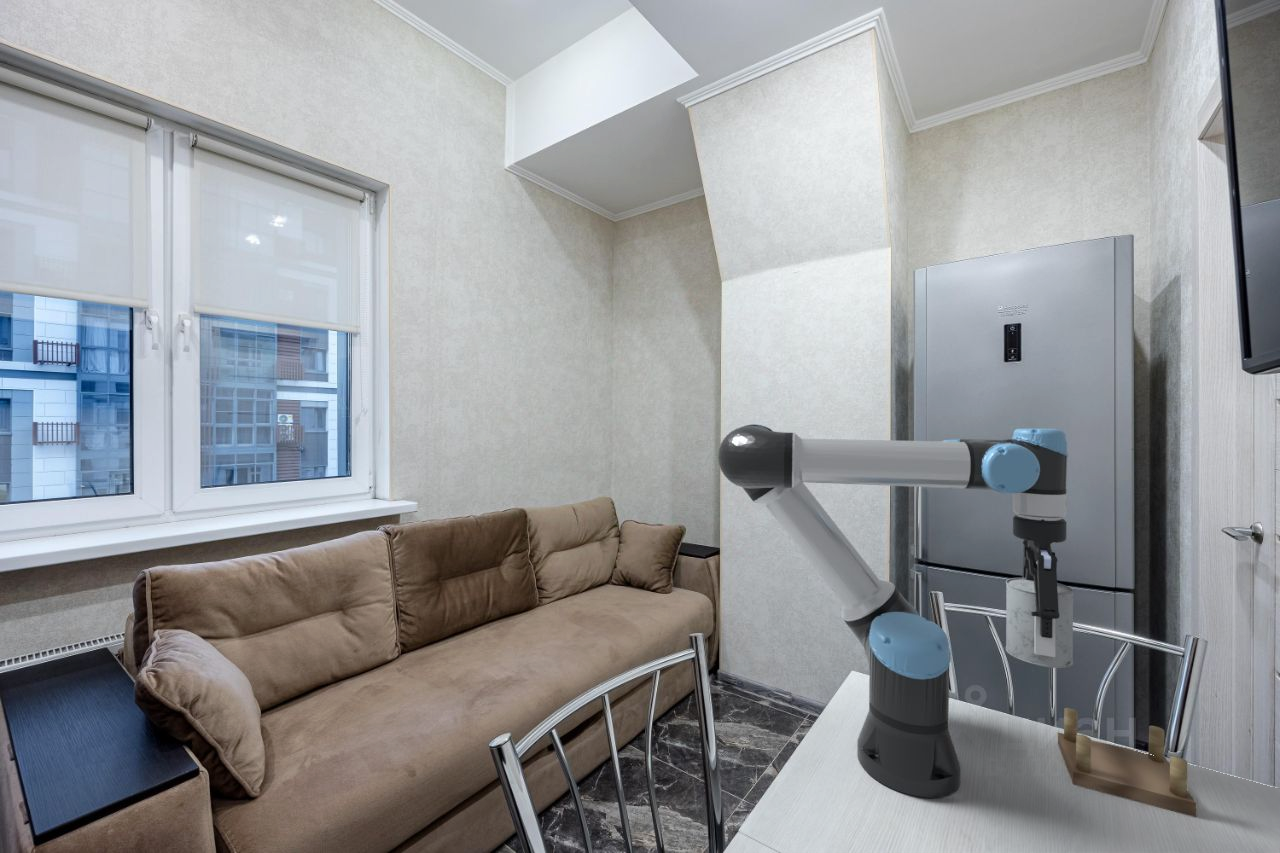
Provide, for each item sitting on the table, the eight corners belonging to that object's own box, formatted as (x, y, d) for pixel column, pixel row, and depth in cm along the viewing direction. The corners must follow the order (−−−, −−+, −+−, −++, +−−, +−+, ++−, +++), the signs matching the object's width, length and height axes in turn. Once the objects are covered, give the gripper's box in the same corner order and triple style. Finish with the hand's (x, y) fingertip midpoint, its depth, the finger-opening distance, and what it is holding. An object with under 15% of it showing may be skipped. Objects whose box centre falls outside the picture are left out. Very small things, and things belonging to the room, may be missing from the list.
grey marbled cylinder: (1086, 670, 88) (1087, 596, 88) (1022, 665, 90) (1023, 593, 90) (1052, 645, 98) (1053, 579, 98) (995, 642, 99) (995, 576, 99)
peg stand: (1073, 784, 84) (1073, 740, 84) (1057, 743, 94) (1058, 704, 94) (1196, 816, 77) (1197, 768, 77) (1164, 769, 87) (1165, 726, 87)
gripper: (1083, 530, 82) (1083, 674, 82) (1051, 508, 102) (1050, 625, 102) (1024, 525, 85) (1023, 664, 86) (1004, 505, 105) (1003, 618, 105)
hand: (1038, 643), depth 94 cm, fingers closed on grey marbled cylinder, 9 cm apart
